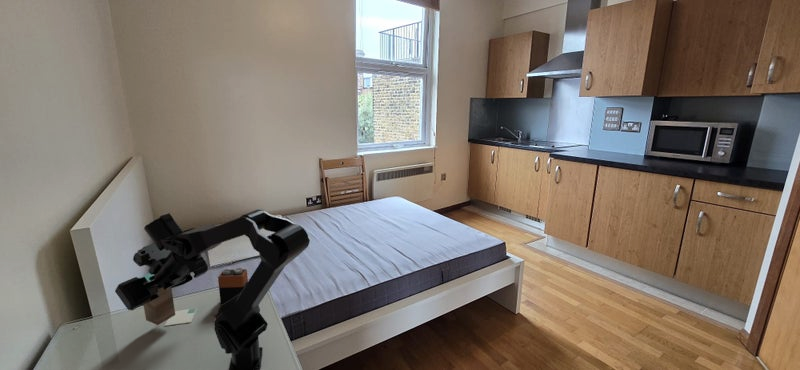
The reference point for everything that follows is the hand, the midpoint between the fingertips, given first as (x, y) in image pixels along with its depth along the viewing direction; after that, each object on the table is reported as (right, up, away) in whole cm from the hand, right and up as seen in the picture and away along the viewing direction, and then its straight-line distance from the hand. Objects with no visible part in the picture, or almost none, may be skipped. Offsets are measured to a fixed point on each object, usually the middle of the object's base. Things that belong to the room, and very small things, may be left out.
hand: (153, 293), depth 83 cm
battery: (+13, -7, +14) cm, 21 cm away
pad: (+3, -8, +6) cm, 11 cm away
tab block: (+1, -7, +1) cm, 7 cm away
